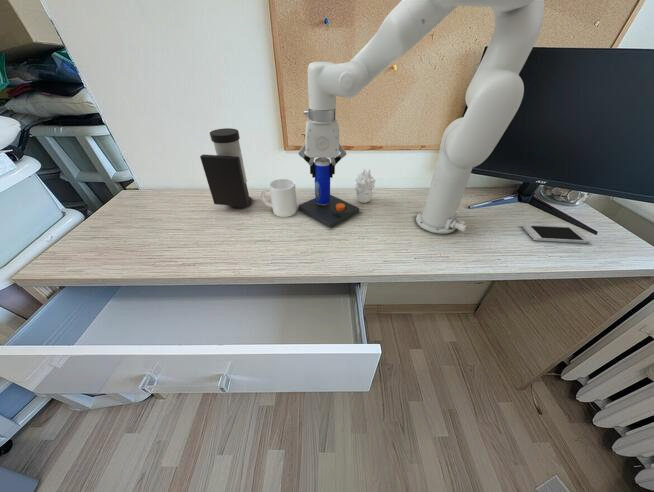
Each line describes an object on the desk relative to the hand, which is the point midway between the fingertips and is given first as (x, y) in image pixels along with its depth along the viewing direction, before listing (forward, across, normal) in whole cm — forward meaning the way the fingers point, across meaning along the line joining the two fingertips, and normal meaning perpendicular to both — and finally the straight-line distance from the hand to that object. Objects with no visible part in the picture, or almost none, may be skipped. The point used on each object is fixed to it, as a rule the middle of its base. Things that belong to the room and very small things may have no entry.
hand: (322, 175), depth 84 cm
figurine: (+12, +15, +5) cm, 20 cm away
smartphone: (+12, +72, -16) cm, 75 cm away
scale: (+12, +2, -2) cm, 13 cm away
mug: (+12, -15, -2) cm, 20 cm away
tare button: (+9, +6, -6) cm, 12 cm away
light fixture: (+12, -30, +2) cm, 33 cm away
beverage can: (+10, 0, 0) cm, 10 cm away
